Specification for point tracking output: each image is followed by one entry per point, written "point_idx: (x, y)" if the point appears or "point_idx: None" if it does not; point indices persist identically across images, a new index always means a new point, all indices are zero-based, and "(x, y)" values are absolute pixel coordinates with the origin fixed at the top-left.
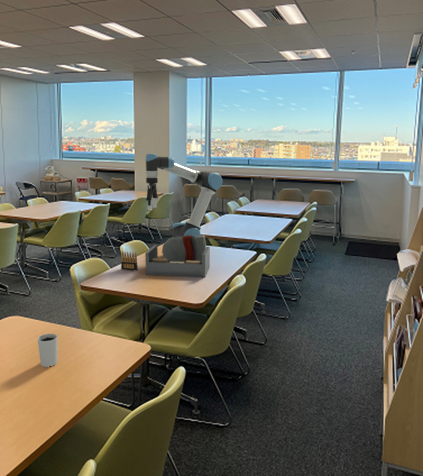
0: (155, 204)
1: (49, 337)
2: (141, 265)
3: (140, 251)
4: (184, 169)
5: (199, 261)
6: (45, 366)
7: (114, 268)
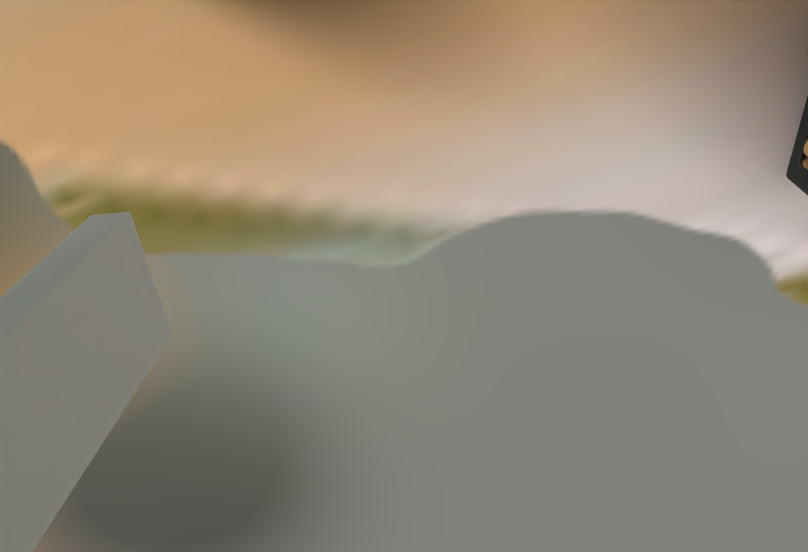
0: (80, 316)
1: None
2: (647, 46)
3: None
4: None
5: None
6: None
7: (773, 243)
